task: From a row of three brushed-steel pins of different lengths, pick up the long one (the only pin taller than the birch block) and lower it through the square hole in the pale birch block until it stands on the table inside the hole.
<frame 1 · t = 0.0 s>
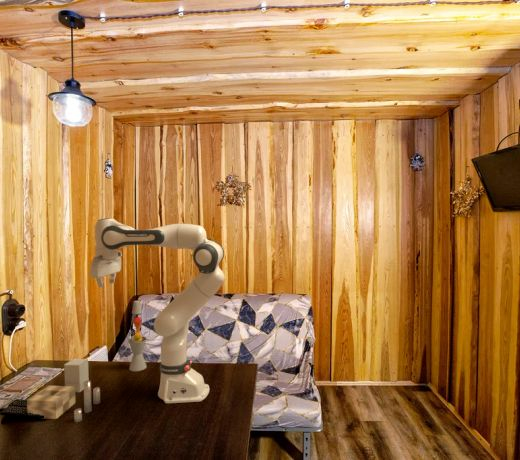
hand: (106, 285, 158), 48 cm above the table, fingers open, 8 cm apart
birch hole block: (52, 409, 143), on the table
lava lamp: (137, 368, 183), on the table
long steel pin: (87, 410, 142), on the table
medium steel pin: (96, 402, 149), on the table
short steel pin: (78, 420, 136), on the table
supplement box: (77, 389, 161), on the table
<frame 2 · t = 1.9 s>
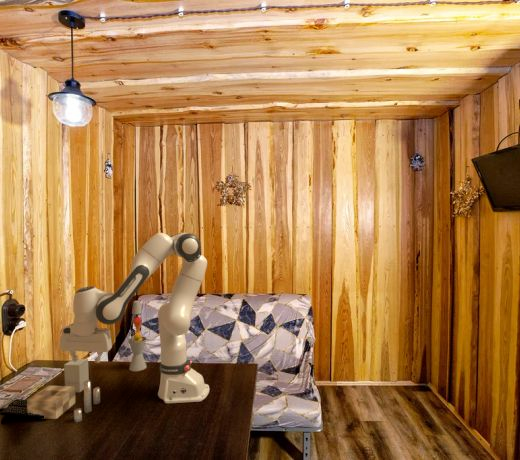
hand: (86, 361, 141), 20 cm above the table, fingers open, 8 cm apart
nothing on the table moved.
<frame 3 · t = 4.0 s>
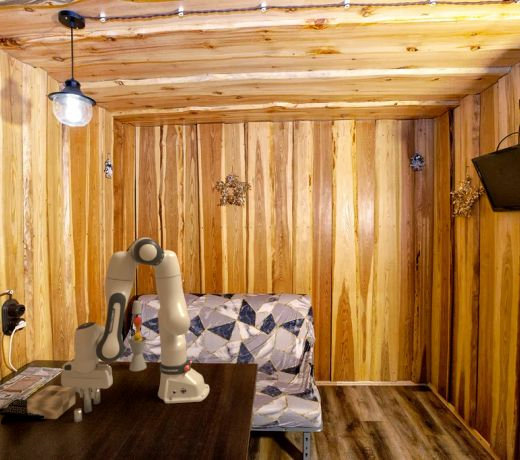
hand: (87, 397, 142), 6 cm above the table, fingers closed on long steel pin, 3 cm apart
long steel pin: (87, 410, 142), on the table, touching gripper
everything else where it was.
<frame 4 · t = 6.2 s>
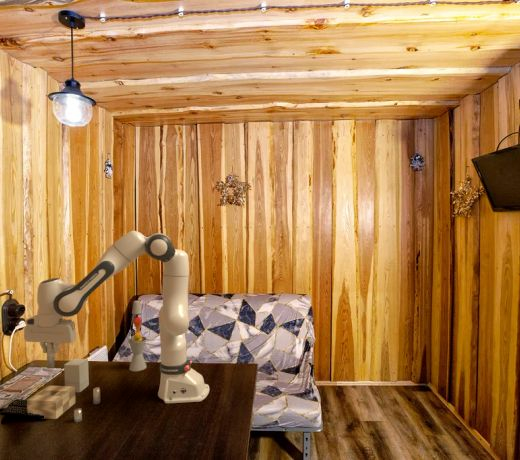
hand: (50, 352, 142), 24 cm above the table, fingers closed on long steel pin, 3 cm apart
long steel pin: (50, 367, 142), point 18 cm above the table, touching gripper
everything else where it was.
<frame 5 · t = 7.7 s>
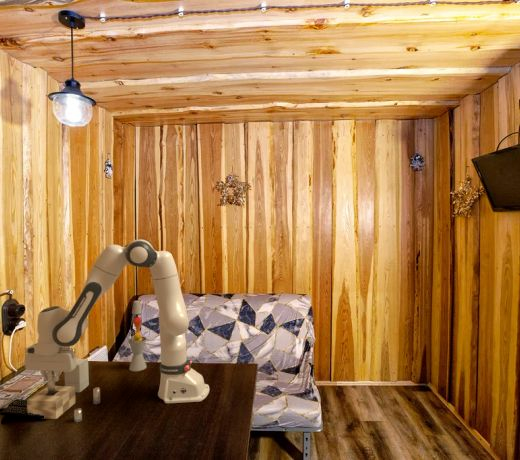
hand: (51, 380, 143), 12 cm above the table, fingers closed on long steel pin, 3 cm apart
long steel pin: (51, 395, 143), point 6 cm above the table, touching gripper
everything else where it was.
when the fingers open (9 cm above the table, at t = 8.6 s): long steel pin drops 2 cm, resting in birch hole block.
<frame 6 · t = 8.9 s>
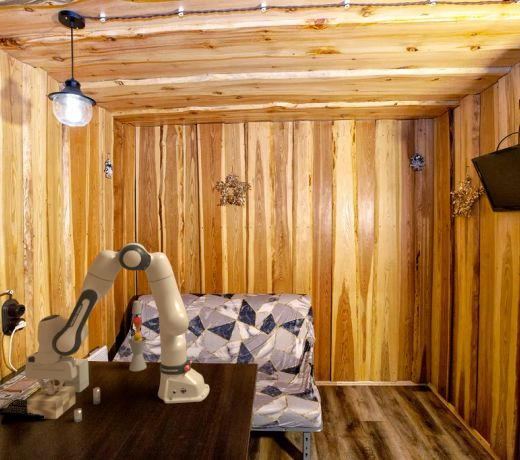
hand: (51, 389, 143), 9 cm above the table, fingers open, 5 cm apart
long steel pin: (52, 409, 143), resting in birch hole block
everything else where it was.
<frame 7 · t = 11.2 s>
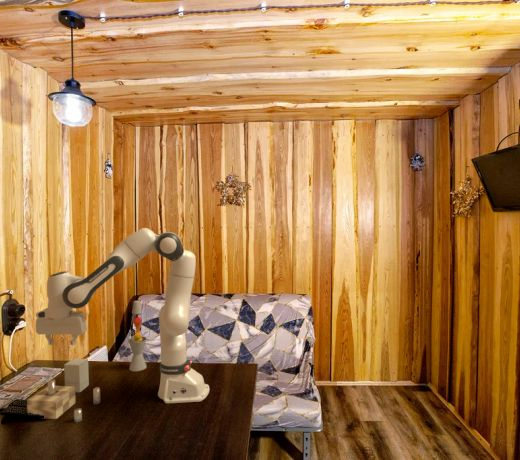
hand: (62, 344, 145), 26 cm above the table, fingers open, 8 cm apart
nothing on the table moved.
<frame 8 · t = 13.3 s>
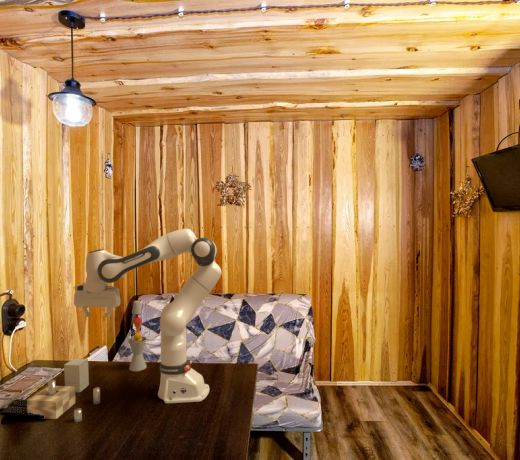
hand: (97, 316, 157), 34 cm above the table, fingers open, 8 cm apart
nothing on the table moved.
at the end: long steel pin 0.2 cm off-centre on the birch hole block, point 0.0 cm above the birch hole block's base; long steel pin tilted 1°; the gripper is holding nothing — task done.
